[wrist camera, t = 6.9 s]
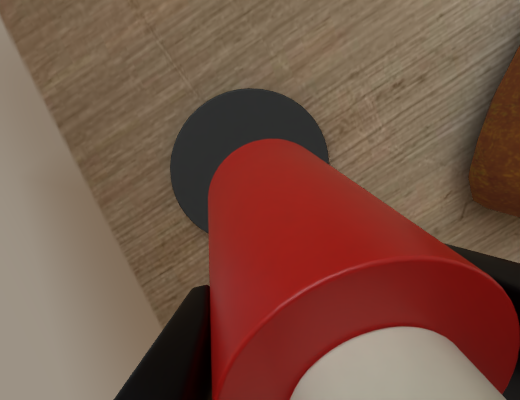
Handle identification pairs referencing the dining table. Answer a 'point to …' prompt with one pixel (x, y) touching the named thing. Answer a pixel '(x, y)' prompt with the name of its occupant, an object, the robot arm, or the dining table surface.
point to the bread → (500, 148)
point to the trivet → (234, 140)
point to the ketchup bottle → (342, 292)
